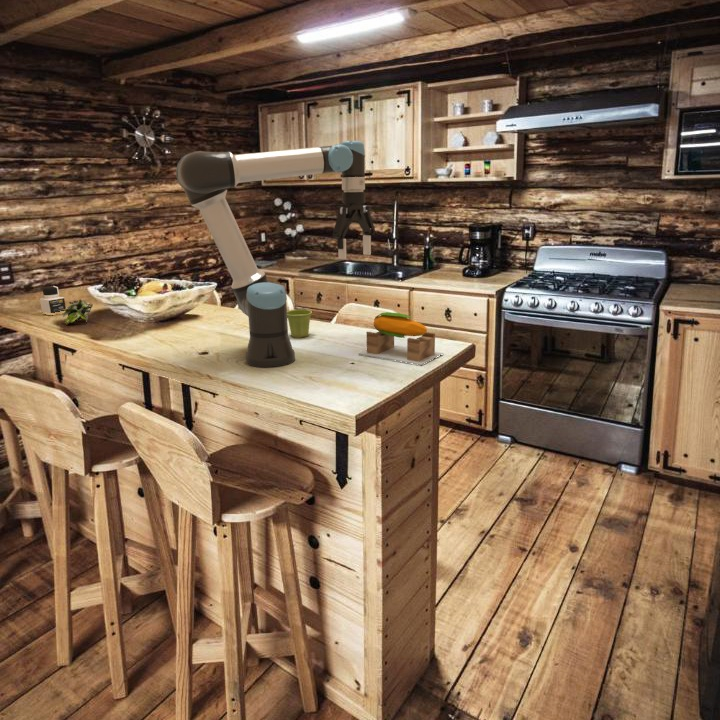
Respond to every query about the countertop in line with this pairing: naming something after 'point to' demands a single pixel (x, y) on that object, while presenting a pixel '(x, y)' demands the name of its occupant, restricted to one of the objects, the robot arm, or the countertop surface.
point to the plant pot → (299, 322)
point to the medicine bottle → (52, 300)
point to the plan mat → (399, 355)
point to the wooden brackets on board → (415, 347)
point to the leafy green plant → (77, 311)
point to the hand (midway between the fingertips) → (355, 256)
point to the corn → (398, 325)
